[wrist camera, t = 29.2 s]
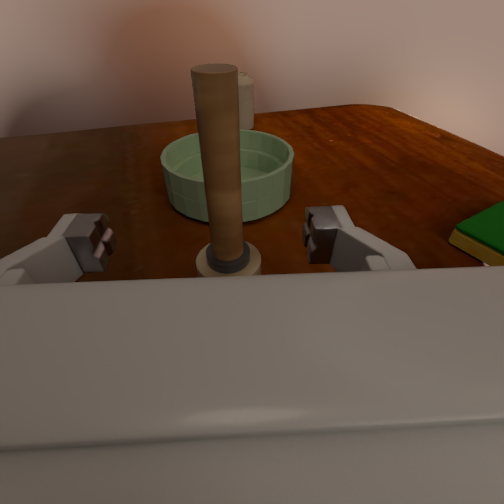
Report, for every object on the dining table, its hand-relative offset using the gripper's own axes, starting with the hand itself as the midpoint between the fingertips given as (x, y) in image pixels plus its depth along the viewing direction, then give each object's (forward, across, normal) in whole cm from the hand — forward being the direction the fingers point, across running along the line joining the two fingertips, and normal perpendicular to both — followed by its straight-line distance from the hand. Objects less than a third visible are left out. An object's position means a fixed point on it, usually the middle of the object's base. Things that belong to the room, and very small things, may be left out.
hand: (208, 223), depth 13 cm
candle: (+56, -2, +15) cm, 58 cm away
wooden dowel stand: (+10, 0, +15) cm, 18 cm away
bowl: (+28, 0, +15) cm, 32 cm away
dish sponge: (+16, -33, +15) cm, 39 cm away
